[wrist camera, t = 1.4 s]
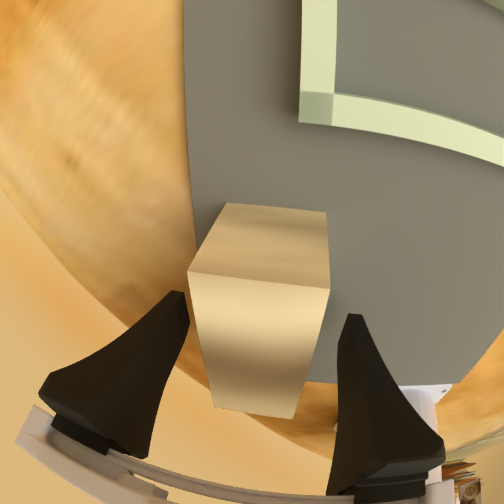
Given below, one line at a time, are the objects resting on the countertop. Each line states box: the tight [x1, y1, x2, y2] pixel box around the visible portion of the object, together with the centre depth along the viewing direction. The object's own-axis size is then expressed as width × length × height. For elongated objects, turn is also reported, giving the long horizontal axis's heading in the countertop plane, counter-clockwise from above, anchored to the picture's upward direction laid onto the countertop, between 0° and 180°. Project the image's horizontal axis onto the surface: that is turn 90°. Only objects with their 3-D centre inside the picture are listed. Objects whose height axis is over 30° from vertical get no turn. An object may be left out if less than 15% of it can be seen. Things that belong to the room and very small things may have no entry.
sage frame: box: [298, 0, 504, 167], centre depth 6 cm, size 8×13×2 cm, turn 90°
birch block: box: [187, 203, 330, 419], centre depth 12 cm, size 9×4×4 cm, turn 0°
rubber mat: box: [184, 0, 504, 386], centre depth 11 cm, size 26×19×1 cm
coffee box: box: [459, 478, 481, 504], centre depth 50 cm, size 9×6×16 cm
